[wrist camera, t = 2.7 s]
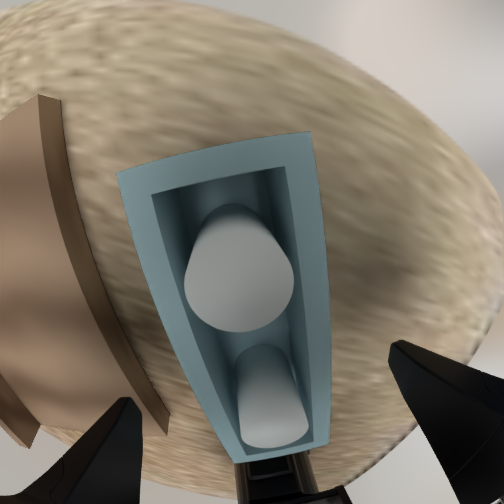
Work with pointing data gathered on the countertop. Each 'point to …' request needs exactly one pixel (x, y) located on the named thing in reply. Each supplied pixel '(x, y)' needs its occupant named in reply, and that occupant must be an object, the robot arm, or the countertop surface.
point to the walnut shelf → (55, 294)
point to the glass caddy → (241, 286)
